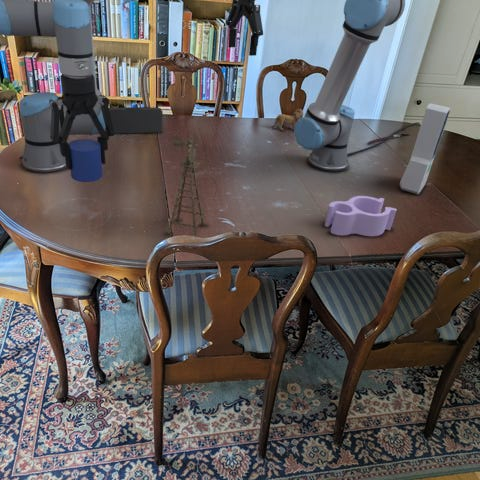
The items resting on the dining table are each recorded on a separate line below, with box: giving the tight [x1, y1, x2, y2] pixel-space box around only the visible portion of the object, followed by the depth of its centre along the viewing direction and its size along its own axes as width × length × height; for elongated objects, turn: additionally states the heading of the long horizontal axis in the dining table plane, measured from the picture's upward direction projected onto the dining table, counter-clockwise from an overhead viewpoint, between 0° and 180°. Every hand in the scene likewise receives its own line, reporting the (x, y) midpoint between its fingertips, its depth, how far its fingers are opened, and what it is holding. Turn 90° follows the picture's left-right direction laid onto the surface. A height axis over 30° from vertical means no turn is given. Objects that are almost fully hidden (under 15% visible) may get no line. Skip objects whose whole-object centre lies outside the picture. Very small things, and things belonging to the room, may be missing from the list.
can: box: [68, 138, 103, 183], centre depth 120 cm, size 8×8×8 cm
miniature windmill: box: [167, 128, 205, 238], centre depth 124 cm, size 9×8×30 cm
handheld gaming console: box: [105, 106, 164, 134], centre depth 189 cm, size 23×3×10 cm, turn 108°
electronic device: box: [399, 102, 452, 195], centre depth 163 cm, size 12×8×30 cm, turn 148°
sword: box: [367, 132, 409, 145], centre depth 213 cm, size 31×3×1 cm, turn 126°
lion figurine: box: [271, 108, 305, 131], centre depth 210 cm, size 15×5×9 cm, turn 110°
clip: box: [324, 195, 398, 237], centre depth 141 cm, size 20×12×7 cm, turn 109°
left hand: (85, 164), depth 121 cm, fingers closed on can, 8 cm apart
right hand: (241, 51), depth 173 cm, fingers open, 13 cm apart
